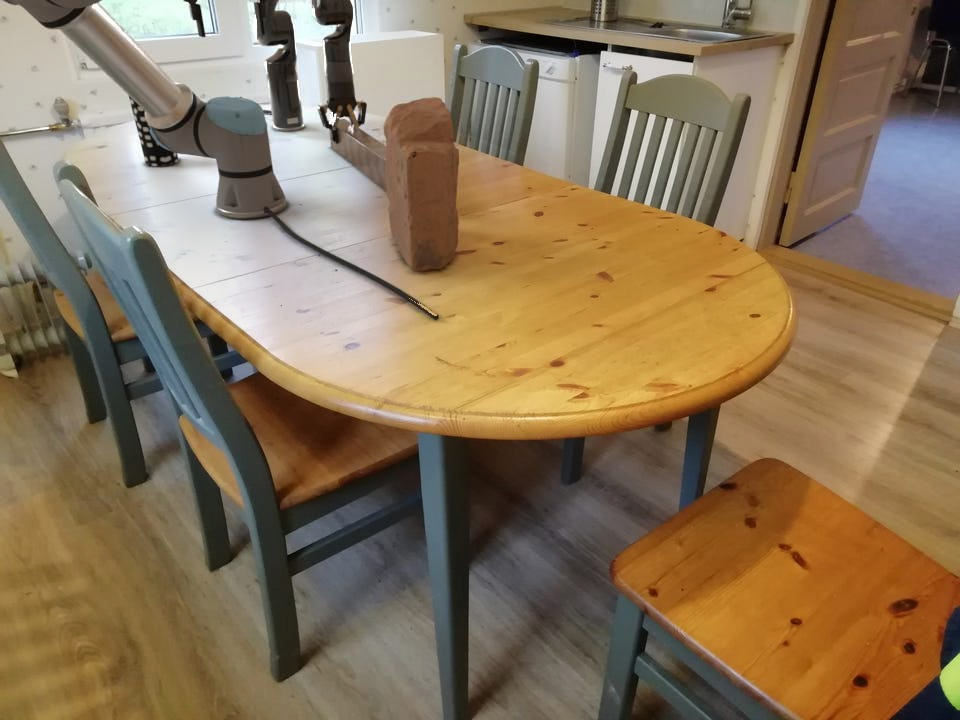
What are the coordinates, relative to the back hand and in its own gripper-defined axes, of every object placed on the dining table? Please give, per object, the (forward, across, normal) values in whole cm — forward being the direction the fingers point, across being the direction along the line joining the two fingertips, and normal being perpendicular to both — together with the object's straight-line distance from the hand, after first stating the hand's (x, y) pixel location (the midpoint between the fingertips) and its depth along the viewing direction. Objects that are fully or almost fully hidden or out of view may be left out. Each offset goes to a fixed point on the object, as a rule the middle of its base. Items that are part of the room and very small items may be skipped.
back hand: (345, 141), depth 195 cm
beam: (+3, 0, +25) cm, 25 cm away
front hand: (-30, +28, +12) cm, 43 cm away
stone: (+3, +9, +73) cm, 73 cm away
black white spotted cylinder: (-7, +48, -13) cm, 50 cm away
